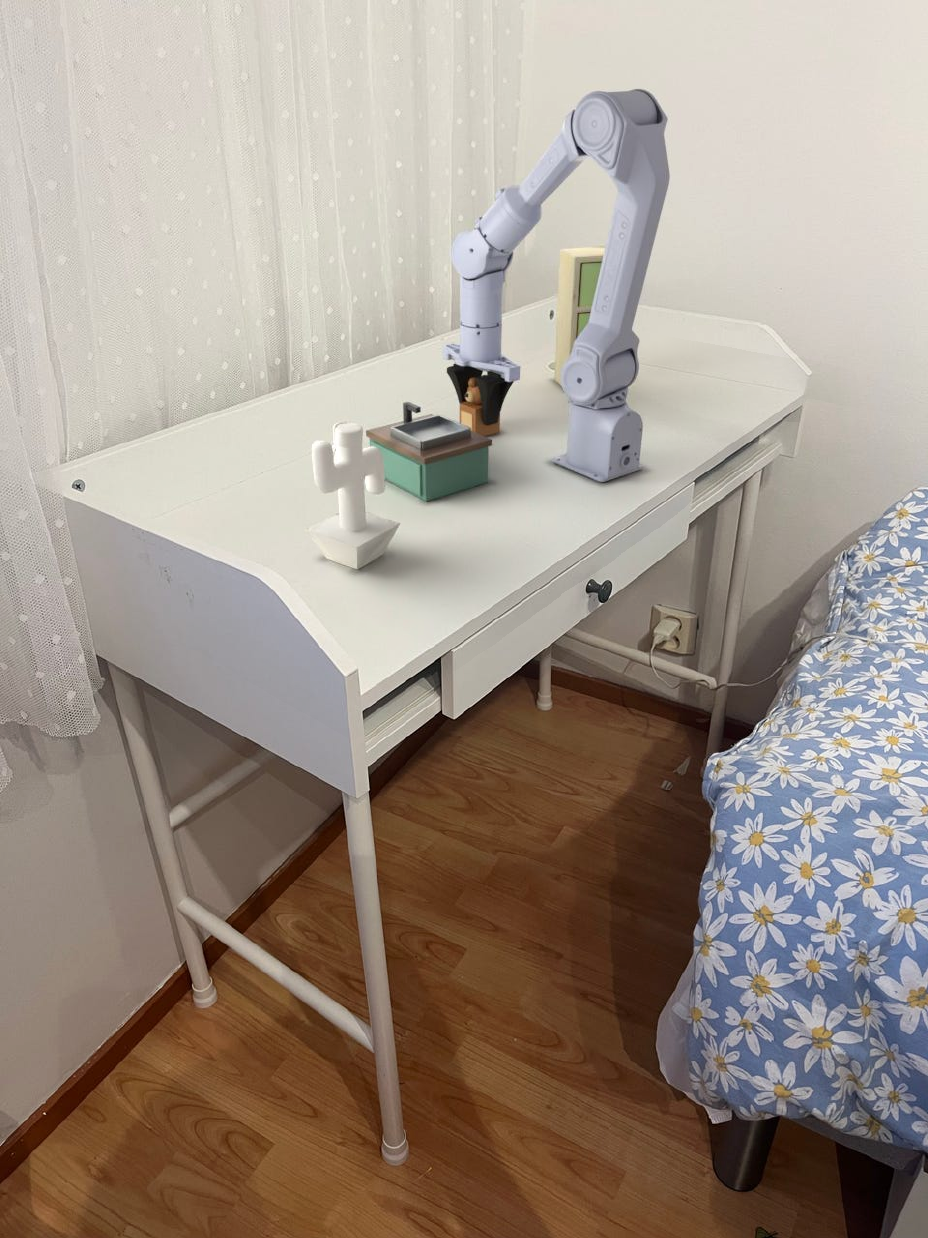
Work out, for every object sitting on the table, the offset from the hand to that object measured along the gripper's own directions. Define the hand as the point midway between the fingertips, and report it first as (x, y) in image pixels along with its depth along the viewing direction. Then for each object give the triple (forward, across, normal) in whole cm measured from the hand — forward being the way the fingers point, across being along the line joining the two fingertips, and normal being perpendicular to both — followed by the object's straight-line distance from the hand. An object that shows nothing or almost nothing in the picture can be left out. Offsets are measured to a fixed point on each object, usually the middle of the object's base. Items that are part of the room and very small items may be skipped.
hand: (479, 419), depth 140 cm
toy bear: (+2, 0, 0) cm, 2 cm away
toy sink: (+2, +9, -16) cm, 18 cm away
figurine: (+2, +22, -36) cm, 42 cm away
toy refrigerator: (+2, -7, +28) cm, 29 cm away
